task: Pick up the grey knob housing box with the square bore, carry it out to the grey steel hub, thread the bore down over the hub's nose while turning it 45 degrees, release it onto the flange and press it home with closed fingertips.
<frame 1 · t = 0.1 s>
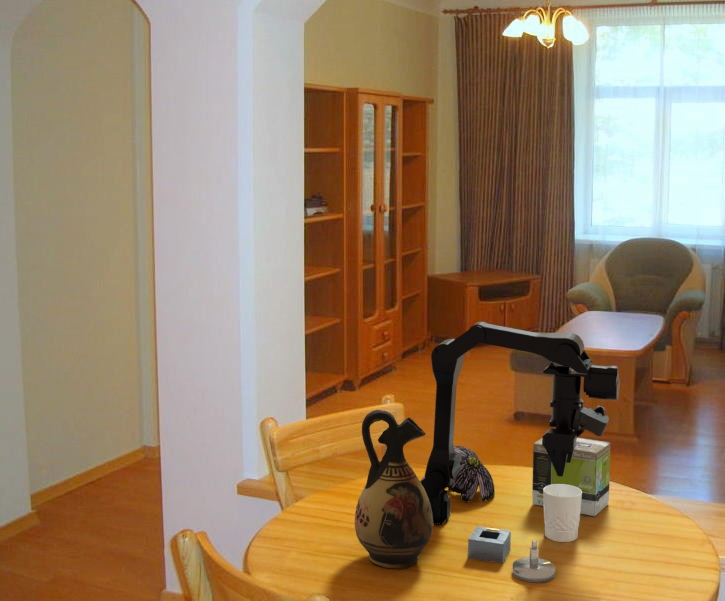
hand: (564, 469, 202), 15 cm above the table, tool pointing down, fingers open, 9 cm apart
decorative flower: (465, 495, 229), on the table
grey knob housing box: (489, 553, 195), on the table
ceramic jug: (389, 559, 193), on the table
white cup: (561, 537, 204), on the table
hub: (533, 573, 186), on the table
tea box: (570, 505, 222), on the table
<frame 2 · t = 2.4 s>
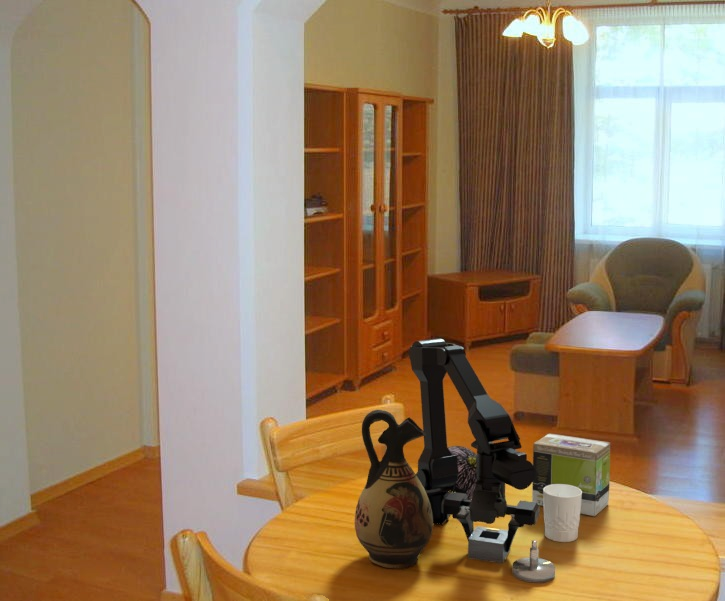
hand: (489, 548, 195), 1 cm above the table, tool pointing down, fingers closed on grey knob housing box, 7 cm apart
grey knob housing box: (489, 553, 195), on the table, touching gripper
everything else where it was.
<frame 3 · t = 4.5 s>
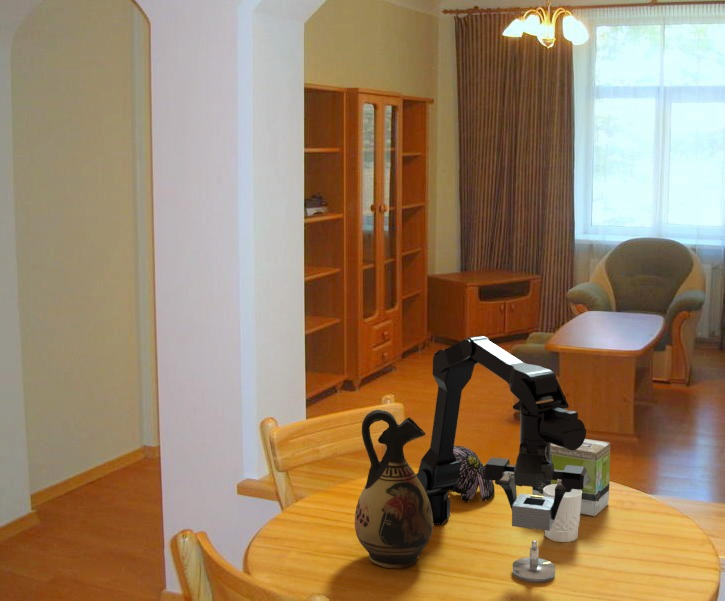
hand: (534, 516, 185), 11 cm above the table, tool pointing down, fingers closed on grey knob housing box, 7 cm apart
grey knob housing box: (534, 521, 185), point 10 cm above the table, touching gripper
everything else where it was.
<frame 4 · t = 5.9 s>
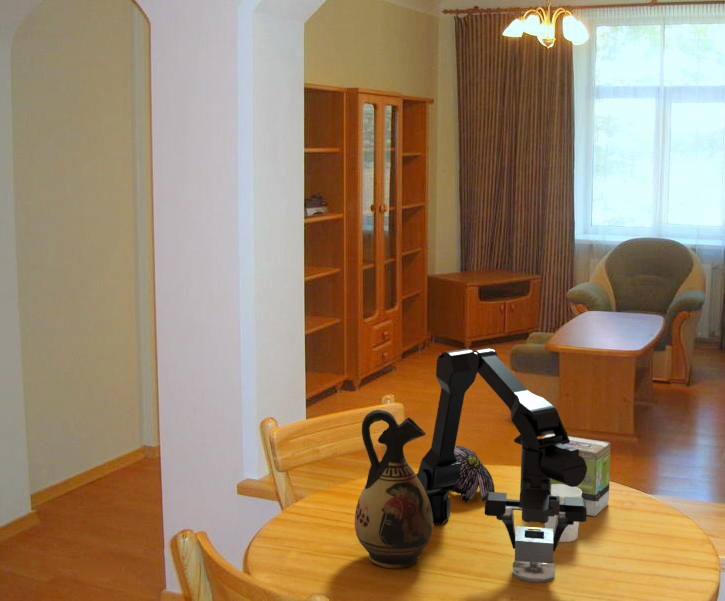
hand: (533, 549, 186), 5 cm above the table, tool pointing down, fingers closed on grey knob housing box, 7 cm apart
grey knob housing box: (533, 554, 186), point 4 cm above the table, touching gripper
everything else where it was.
when the fingers open (3 cm above the table, at t = 6.9 s): grey knob housing box stays where it is, resting on hub.
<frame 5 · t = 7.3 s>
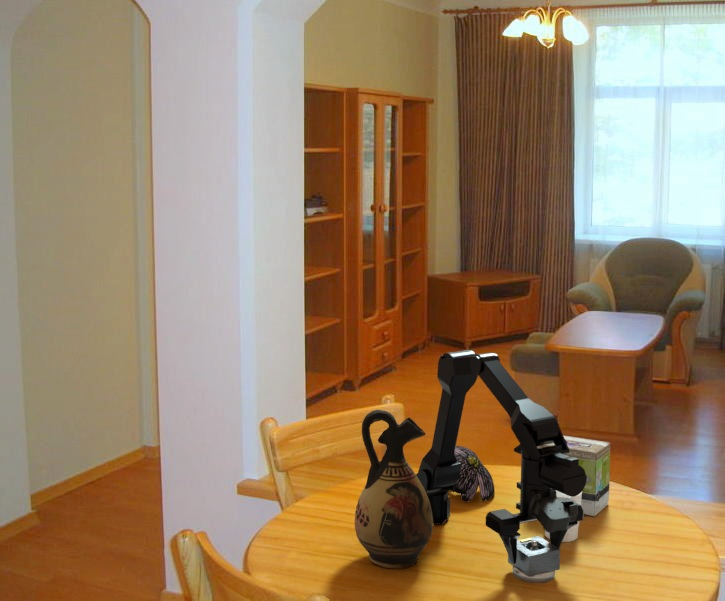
hand: (533, 558, 186), 3 cm above the table, tool pointing down, fingers open, 9 cm apart
grey knob housing box: (533, 565, 186), point 2 cm above the table, touching hub
everything else where it was.
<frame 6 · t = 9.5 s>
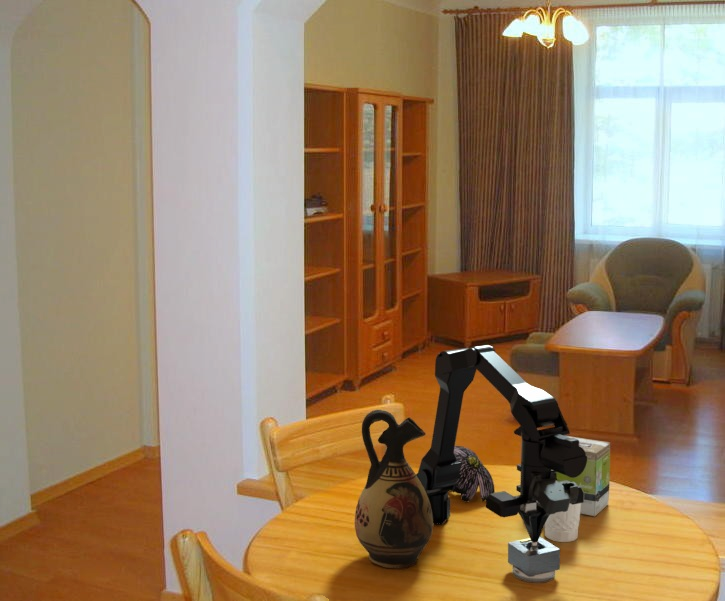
hand: (534, 541, 185), 6 cm above the table, tool pointing down, fingers closed, pressing on hub
nothing on the table moved.
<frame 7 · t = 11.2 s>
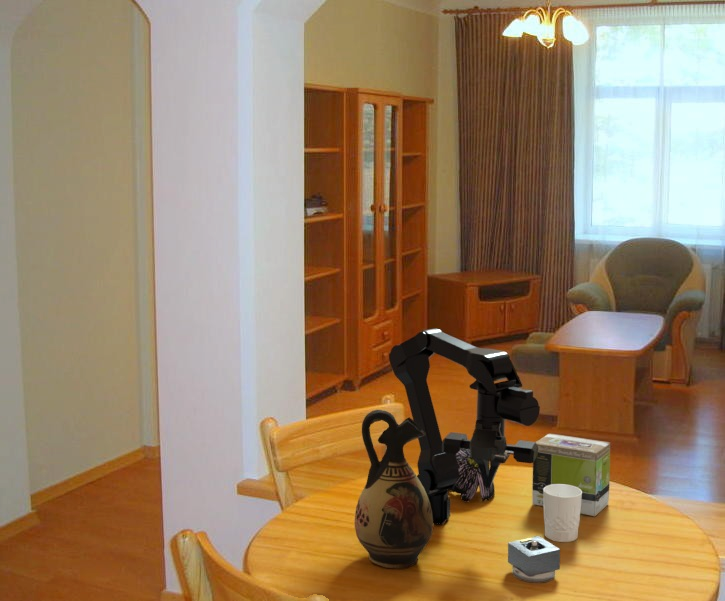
hand: (488, 487, 199), 12 cm above the table, tool pointing down, fingers closed
nothing on the table moved.
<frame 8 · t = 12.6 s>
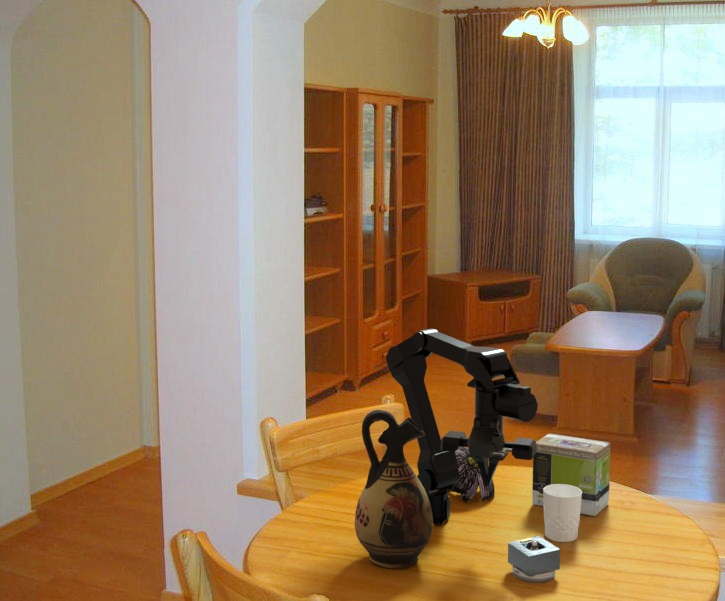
hand: (487, 485, 200), 12 cm above the table, tool pointing down, fingers closed
nothing on the table moved.
at the end: grey knob housing box 0.1 cm from the hub (horizontally); grey knob housing box point 1.6 cm above the table; the gripper is holding nothing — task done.
